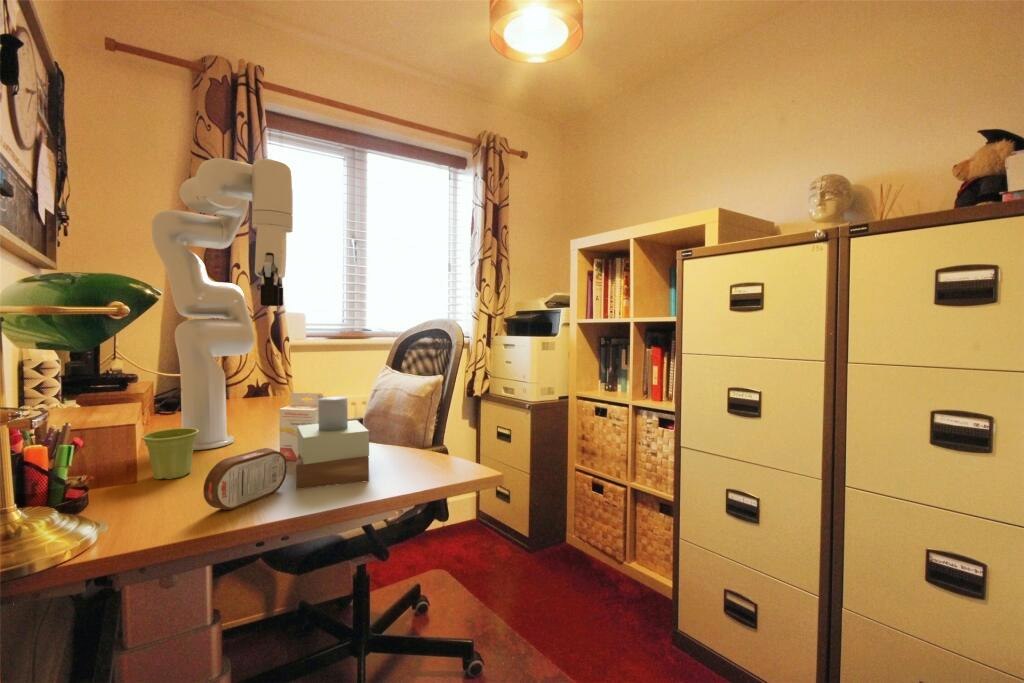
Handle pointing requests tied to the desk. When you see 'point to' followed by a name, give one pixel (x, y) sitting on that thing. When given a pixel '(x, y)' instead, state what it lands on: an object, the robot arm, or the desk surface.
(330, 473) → the walnut base block
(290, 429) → the ink cartridge box
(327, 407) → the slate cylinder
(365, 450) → the sage top block
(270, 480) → the tin
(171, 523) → the desk surface
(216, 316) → the robot arm
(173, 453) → the plant pot
